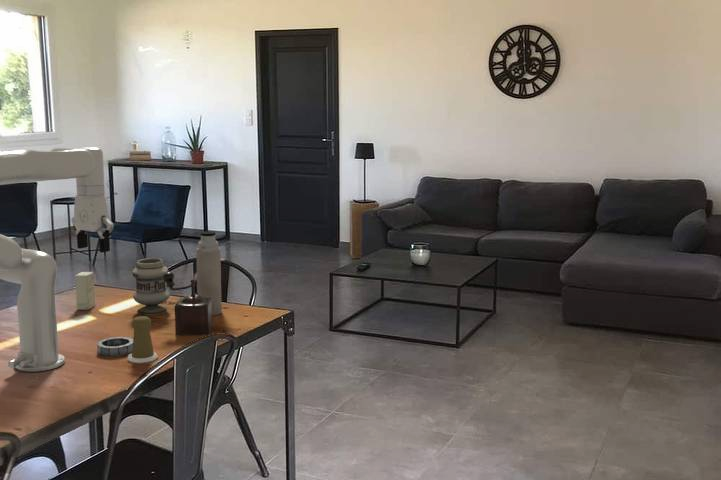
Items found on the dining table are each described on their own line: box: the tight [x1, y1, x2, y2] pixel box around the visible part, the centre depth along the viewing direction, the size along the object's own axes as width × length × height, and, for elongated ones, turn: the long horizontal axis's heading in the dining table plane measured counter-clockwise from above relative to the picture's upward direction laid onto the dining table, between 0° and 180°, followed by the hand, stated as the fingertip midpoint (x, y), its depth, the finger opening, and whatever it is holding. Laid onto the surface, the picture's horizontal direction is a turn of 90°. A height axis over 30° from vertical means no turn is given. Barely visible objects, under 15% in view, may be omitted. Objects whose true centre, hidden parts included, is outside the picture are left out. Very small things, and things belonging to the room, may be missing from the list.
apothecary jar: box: [131, 257, 171, 316], centre depth 258 cm, size 12×12×18 cm
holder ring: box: [96, 336, 133, 357], centre depth 218 cm, size 10×10×2 cm
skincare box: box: [74, 271, 96, 311], centre depth 262 cm, size 6×4×12 cm
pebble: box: [127, 351, 158, 364], centre depth 212 cm, size 8×8×1 cm
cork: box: [131, 315, 154, 358], centre depth 212 cm, size 6×6×11 cm
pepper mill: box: [162, 271, 213, 336], centre depth 238 cm, size 16×11×18 cm
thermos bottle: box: [195, 231, 223, 316], centre depth 256 cm, size 8×8×28 cm
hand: (93, 249), depth 219 cm, fingers open, 9 cm apart
